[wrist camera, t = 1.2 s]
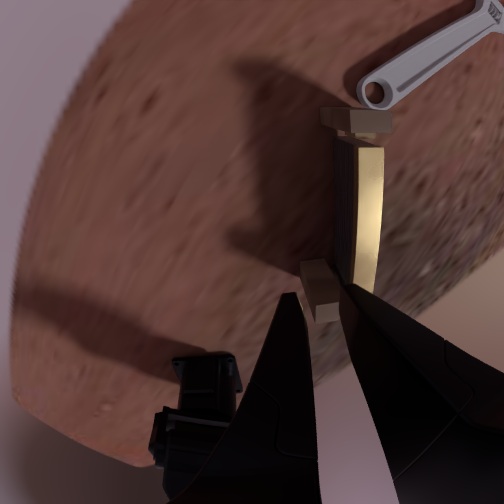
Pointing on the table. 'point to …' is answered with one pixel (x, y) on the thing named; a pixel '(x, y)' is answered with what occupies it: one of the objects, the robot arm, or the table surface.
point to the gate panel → (357, 210)
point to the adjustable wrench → (431, 54)
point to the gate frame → (317, 271)
